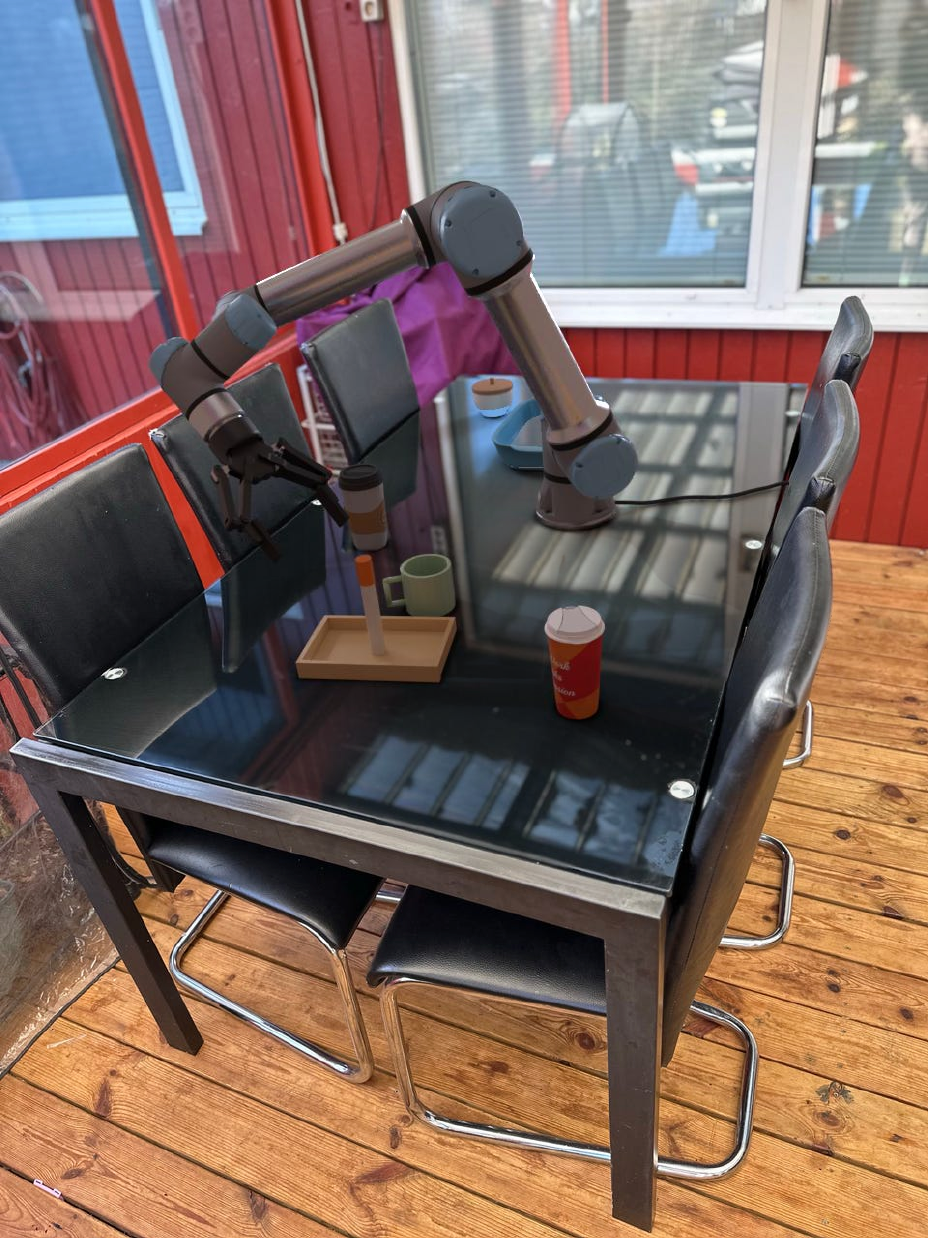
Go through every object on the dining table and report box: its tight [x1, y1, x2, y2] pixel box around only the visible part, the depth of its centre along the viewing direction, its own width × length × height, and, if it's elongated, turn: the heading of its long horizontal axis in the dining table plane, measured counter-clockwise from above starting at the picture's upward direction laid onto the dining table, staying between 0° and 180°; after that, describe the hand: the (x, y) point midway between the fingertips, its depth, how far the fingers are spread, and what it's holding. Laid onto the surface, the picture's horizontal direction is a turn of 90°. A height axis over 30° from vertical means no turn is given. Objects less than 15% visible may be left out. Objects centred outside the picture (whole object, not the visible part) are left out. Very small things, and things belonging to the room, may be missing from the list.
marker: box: [354, 554, 386, 655], centre depth 131 cm, size 2×2×16 cm
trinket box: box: [470, 377, 514, 410], centre depth 227 cm, size 11×11×9 cm
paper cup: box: [544, 605, 606, 720], centre depth 116 cm, size 8×8×14 cm
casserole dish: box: [491, 397, 608, 472], centre depth 202 cm, size 37×22×7 cm, turn 162°
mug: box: [382, 553, 457, 617], centre depth 144 cm, size 11×8×8 cm
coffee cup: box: [337, 463, 388, 551], centre depth 166 cm, size 8×8×15 cm
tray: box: [295, 614, 458, 683], centre depth 135 cm, size 22×14×3 cm, turn 80°
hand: (313, 540), depth 133 cm, fingers open, 13 cm apart
